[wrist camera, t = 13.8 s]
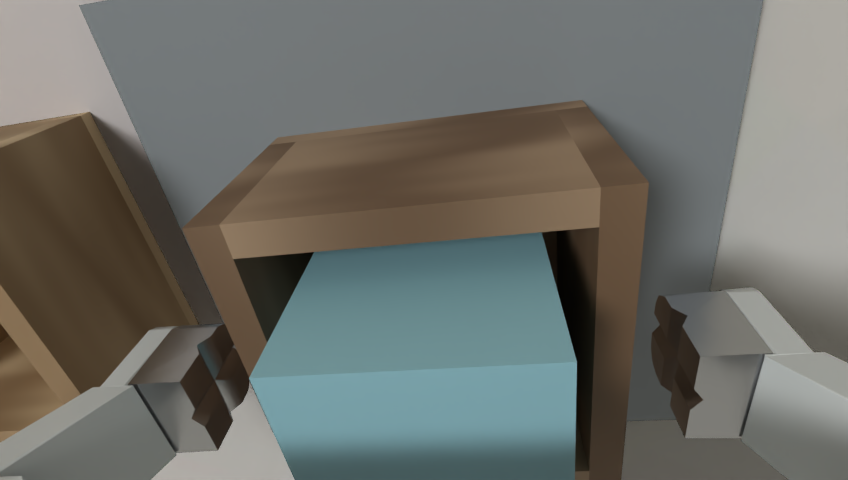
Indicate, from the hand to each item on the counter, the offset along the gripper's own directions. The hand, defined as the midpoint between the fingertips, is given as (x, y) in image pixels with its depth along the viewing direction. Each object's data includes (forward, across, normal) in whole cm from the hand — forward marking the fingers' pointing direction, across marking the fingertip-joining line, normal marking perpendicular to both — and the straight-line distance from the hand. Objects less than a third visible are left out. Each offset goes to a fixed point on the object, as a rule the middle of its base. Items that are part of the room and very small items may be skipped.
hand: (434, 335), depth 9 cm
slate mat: (+4, 0, 0) cm, 4 cm away
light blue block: (+3, 0, 0) cm, 3 cm away
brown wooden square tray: (+3, 0, 0) cm, 3 cm away
